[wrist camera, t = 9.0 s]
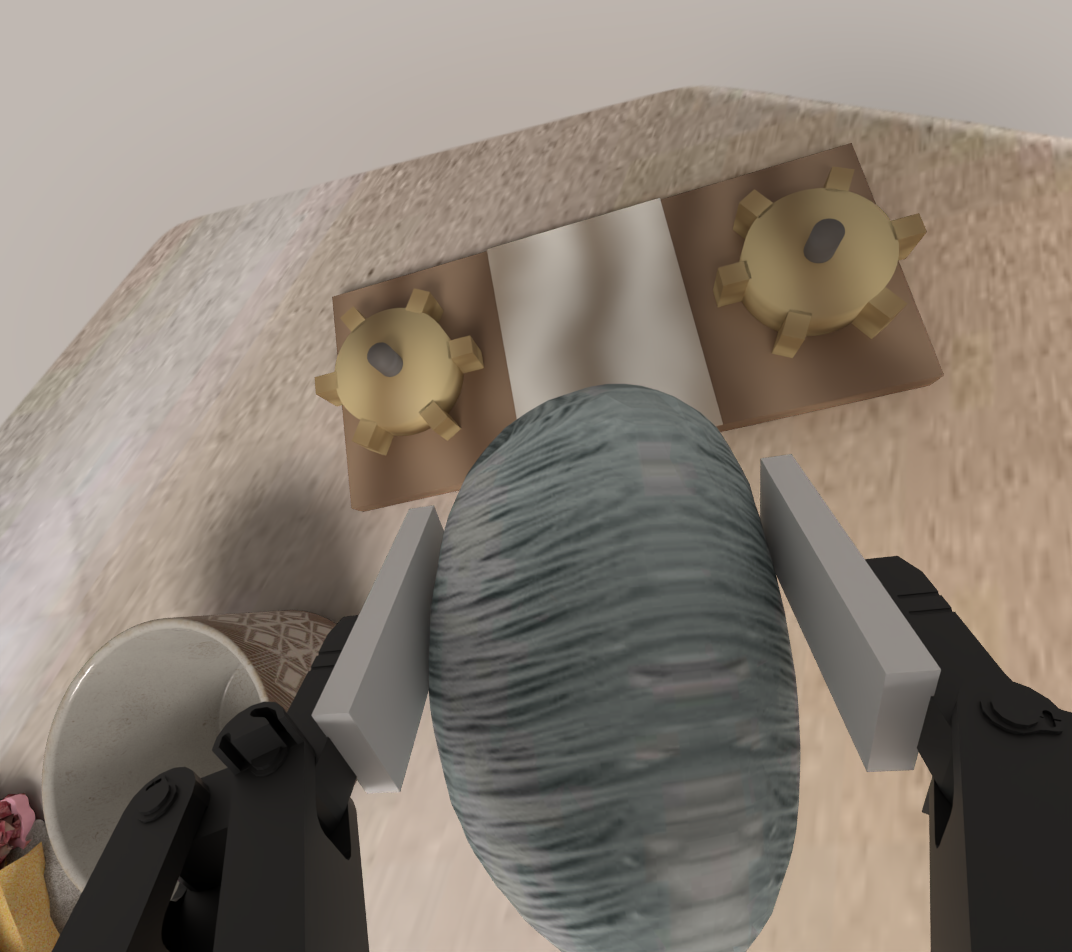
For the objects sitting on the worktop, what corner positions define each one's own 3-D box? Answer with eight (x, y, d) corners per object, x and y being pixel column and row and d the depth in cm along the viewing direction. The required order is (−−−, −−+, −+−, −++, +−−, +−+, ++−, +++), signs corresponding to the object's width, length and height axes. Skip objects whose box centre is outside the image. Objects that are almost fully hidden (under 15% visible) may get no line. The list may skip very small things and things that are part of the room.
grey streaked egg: (418, 400, 17) (453, 327, 8) (672, 411, 20) (933, 366, 10) (415, 801, 18) (447, 1203, 8) (666, 761, 20) (912, 1031, 11)
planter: (411, 641, 33) (312, 663, 23) (350, 850, 31) (213, 972, 22) (251, 587, 36) (103, 587, 26) (186, 775, 35) (0, 852, 25)
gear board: (849, 159, 34) (886, 81, 29) (937, 383, 30) (999, 340, 25) (338, 308, 40) (292, 266, 34) (357, 512, 36) (308, 500, 31)
